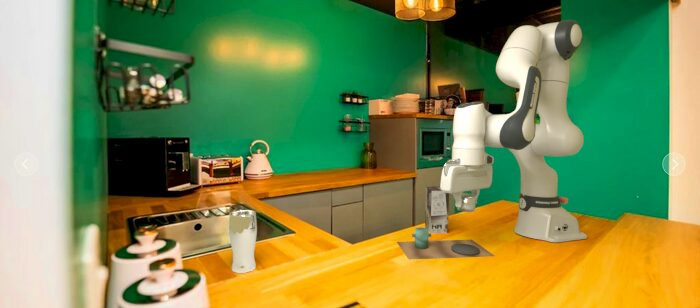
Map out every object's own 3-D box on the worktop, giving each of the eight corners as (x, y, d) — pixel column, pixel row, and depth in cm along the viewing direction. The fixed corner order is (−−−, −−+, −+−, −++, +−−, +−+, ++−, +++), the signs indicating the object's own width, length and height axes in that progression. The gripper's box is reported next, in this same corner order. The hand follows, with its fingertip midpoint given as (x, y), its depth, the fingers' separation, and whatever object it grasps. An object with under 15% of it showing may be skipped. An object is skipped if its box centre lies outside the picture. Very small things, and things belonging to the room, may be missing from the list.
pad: (471, 245, 101) (471, 243, 100) (484, 255, 93) (485, 253, 93) (446, 246, 100) (446, 244, 100) (458, 256, 92) (458, 254, 92)
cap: (478, 210, 95) (479, 194, 94) (468, 212, 92) (468, 195, 91) (463, 207, 99) (464, 191, 98) (453, 209, 96) (454, 193, 95)
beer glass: (242, 276, 81) (240, 217, 80) (224, 270, 85) (222, 213, 84) (263, 266, 87) (262, 211, 86) (245, 261, 91) (244, 208, 90)
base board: (471, 243, 106) (472, 223, 105) (495, 260, 92) (495, 237, 91) (396, 245, 103) (396, 225, 103) (408, 263, 89) (409, 240, 89)
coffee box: (448, 236, 112) (449, 190, 111) (430, 236, 113) (431, 190, 111) (441, 228, 121) (442, 185, 120) (424, 228, 122) (425, 185, 120)
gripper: (454, 160, 86) (452, 212, 86) (497, 157, 97) (495, 203, 98) (435, 158, 91) (434, 207, 92) (478, 156, 103) (476, 199, 104)
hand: (466, 205), depth 95 cm, fingers closed on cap, 5 cm apart
